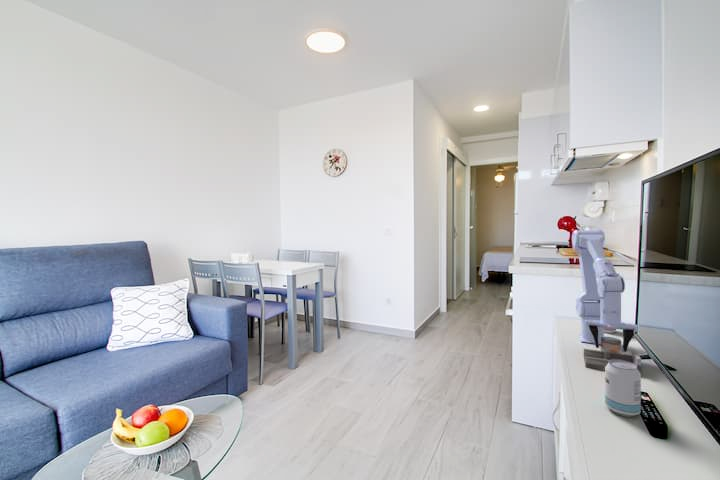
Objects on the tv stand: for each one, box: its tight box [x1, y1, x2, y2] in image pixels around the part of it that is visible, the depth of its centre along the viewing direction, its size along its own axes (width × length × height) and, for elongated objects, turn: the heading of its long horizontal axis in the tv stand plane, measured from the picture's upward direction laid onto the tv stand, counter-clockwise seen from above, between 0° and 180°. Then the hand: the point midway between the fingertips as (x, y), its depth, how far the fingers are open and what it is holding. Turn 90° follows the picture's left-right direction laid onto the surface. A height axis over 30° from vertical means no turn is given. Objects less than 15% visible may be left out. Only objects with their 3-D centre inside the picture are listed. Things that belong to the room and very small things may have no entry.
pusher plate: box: [604, 346, 610, 360], centre depth 107 cm, size 6×1×4 cm, turn 149°
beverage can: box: [604, 360, 642, 418], centre depth 81 cm, size 7×7×12 cm
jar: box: [600, 336, 622, 354], centre depth 113 cm, size 6×6×6 cm
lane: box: [583, 348, 643, 377], centre depth 106 cm, size 10×14×5 cm
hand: (610, 348), depth 113 cm, fingers open, 7 cm apart
